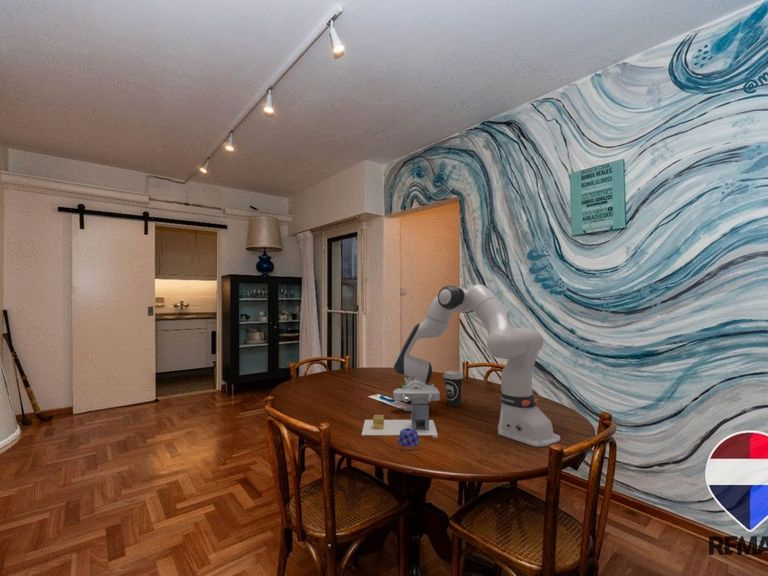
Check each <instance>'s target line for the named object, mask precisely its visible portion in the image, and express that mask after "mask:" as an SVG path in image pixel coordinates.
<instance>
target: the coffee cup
mask: <svg viewBox="0 0 768 576" xmlns="http://www.w3.org/2000/svg"><path fill="white" fill-rule="evenodd" d="M442 377H443V378H444V389H445V401H446V405H447V404H448V405H447V406H450V405H451V407H459V406H461V405H460V404H462V403H461V402H462V391H463V379H464V374H463V372H462V371H459V370H447V371H444V374H443V376H442ZM458 405H459V406H458Z"/></svg>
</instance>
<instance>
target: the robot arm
mask: <svg viewBox="0 0 768 576" xmlns="http://www.w3.org/2000/svg"><path fill="white" fill-rule="evenodd" d="M455 312H457V313H462V314H463V313H464V314H468V313H469V314H470V313H474V314H475V315H476V316H477V318H478V319H479V320H480V322H481V323H482V324H483V326H484V327H485V329H486V331H487V334H488V338H487V341H486V346H487V349H488V350H487V351H489V354H491V355H492V356H493V357H494V358H496V359H502V360H504V359H505V360H507V362H506V364H505V366H504V367H503V368H502V370H501V373H500V375H501V378H500V379H501V390H500V394H499V398H500V400H499V401H500V402H501V403H500V404H501V406H500V413H499V422H498V425H497V431H498V432H497V435H498V436H503V437H505V438H508V439H510V440H514V441H517V442H519V443H522V444H526V445H529V446H532V447H536V448H537V447H547V446H551V445H550V444H552V443H555V444H557V443H559V442H560V441H561V436H560V435H558V434H557V433H554V427H553V423H552V421H551V420H550V419H549V418H548V417H547V416H546V414H545V413H544V412H542V410H541V409H540V408H539V407H538V406H537V403H538V402H539V401H538V400H539V398H535V396H534V394H533V372H534V367H535V364H536V360H537V357H538V354H539V353H540V351H541V350H542V348H543V346H544V338H543V336H542V334H541V333H540V332H539V330H537V329H533V328H531V327H530V328H529V327H517V328H515V327H514V326H512V324H511V323H510V321H509V320H510V312H509V310H508V309H507V308H506V306H504V304H503V303H502V302H501V301H500V299H499V298H498V297H497V295H496V294H494V293H493V292H492V291H491V290H490V289H489V288H487V287H486V286H485V285H484V284H481V283H477V284H473V286H472V285H471V287H469V288H468V289H467V288H464V287H460V286H455V285H446V286H443V287H441V289H440V290H439V291H438V293H437V296H436V297H434V298H433V300H432V301H431V304H430V306H429V308H428V310H427V312H426V315H425V318H424V319H423V320H422V321H421V322H419V323H416V325H414V327H412V330H411V332H410V334H409V335H408V337H407V339H406V341H405V342H404V344H403V346H402V348H401V350H400V351H399V353H398V354H397V356H396V357H395V359H394V362H393V369H394V371H395V372H396V373H397V375H398V374H399V375H403V376H407V379H406V381H405V388H395V389H394V390H393V391H392V394H393V400H394V401H397V402H399V401H402V402H403V401H404V403H408V402H410V401H411V399H428V403H431V401H432V402H434V401H435V402H438V401H440V400H441V398H440V397H441V393H440V392H441V391H439V389H438V388H437V387H435V384H434V383H430V381H431V378H432V375H433V366H432V364H431V362H430V361H429V360H426V359H423V358H418V357H416V356H413V355H410V352H411V351H412V349H413V347H414V345H415V343H416V342H417V341H418V340H421V339H427V338H428V339H429V338H436V337H437V338H438V337H440V336H442V335H443V334H445V332H446V330H447V328H448V326H449V323H450V320H451V317H452V315H453V314H454V313H455ZM558 441H559V442H558ZM556 442H557V443H556ZM552 445H553V444H552Z"/></svg>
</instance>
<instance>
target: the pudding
mask: <svg viewBox="0 0 768 576" xmlns="http://www.w3.org/2000/svg"><path fill="white" fill-rule="evenodd" d="M397 439H398V441H397V442H398V443H397V444H399V445H401V446H402V447H408V448H409V447H410V449H404V448H403V449H400V448H398V449H397V450H398V451H404V452H417V451H421V449H411V448H412V447H414V446H415V447H417V446H418V445H419V444H420V443H421V442H420V441H421V440H420V437H419V435H418V433H417V431H416V430H415V429H411V428H405V429H402V430H401V431H400V435H398V438H397Z"/></svg>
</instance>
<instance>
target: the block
mask: <svg viewBox="0 0 768 576" xmlns="http://www.w3.org/2000/svg"><path fill="white" fill-rule="evenodd" d="M372 420H373V429H384V420H385V415H384V414H374V415H373V417H372Z"/></svg>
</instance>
